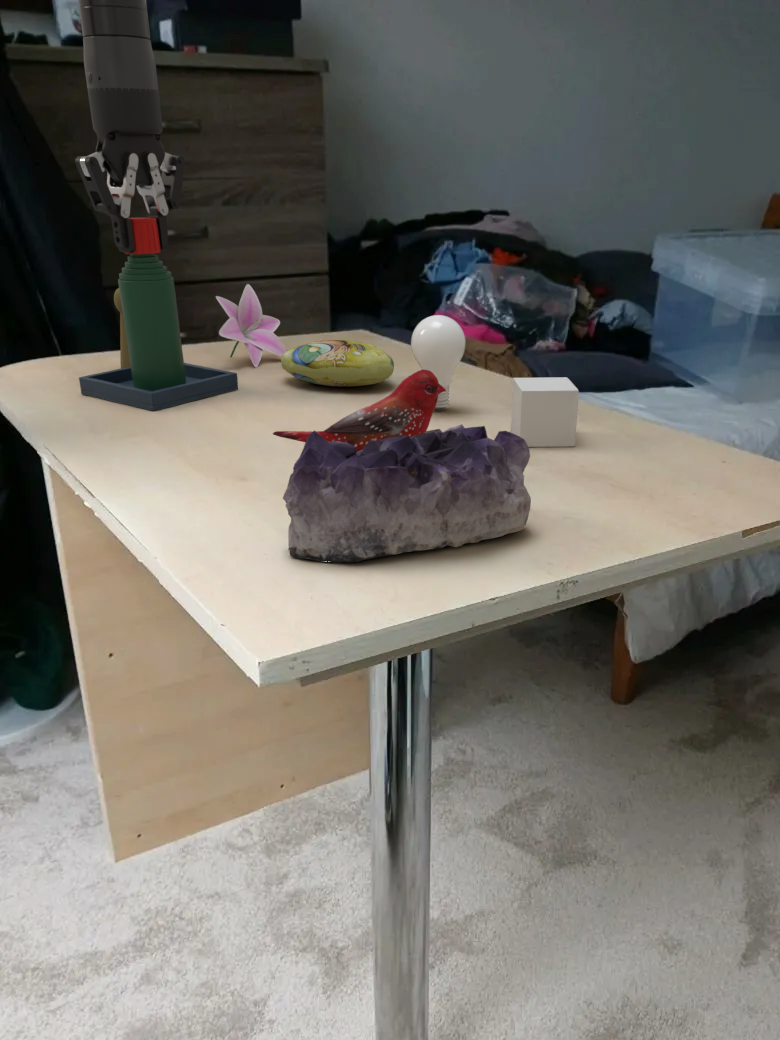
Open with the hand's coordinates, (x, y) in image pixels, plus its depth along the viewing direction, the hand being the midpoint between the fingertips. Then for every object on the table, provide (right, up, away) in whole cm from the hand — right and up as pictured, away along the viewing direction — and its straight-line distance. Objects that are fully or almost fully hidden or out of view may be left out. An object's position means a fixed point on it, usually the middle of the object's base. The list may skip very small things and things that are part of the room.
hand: (143, 249), depth 112 cm
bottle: (0, -15, +7) cm, 16 cm away
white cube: (+46, -24, -9) cm, 53 cm away
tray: (0, -15, +7) cm, 17 cm away
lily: (+8, -7, +24) cm, 27 cm away
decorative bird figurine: (+28, -31, -23) cm, 48 cm away
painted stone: (+22, -13, +13) cm, 28 cm away
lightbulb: (+35, -19, +1) cm, 40 cm away
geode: (+33, -37, -35) cm, 60 cm away
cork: (-6, -10, +19) cm, 22 cm away
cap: (0, 0, 0) cm, 0 cm away
